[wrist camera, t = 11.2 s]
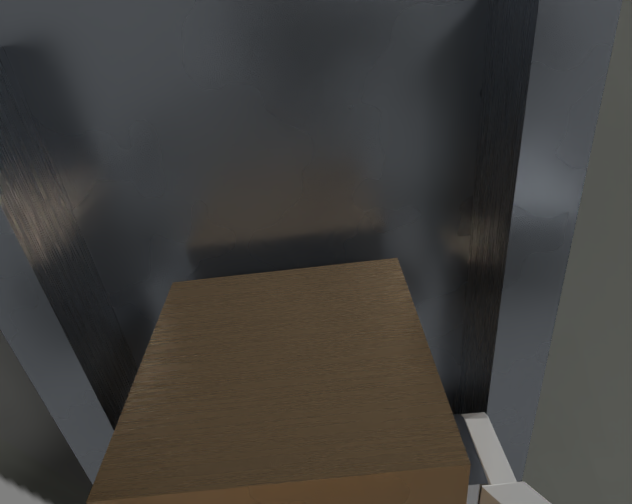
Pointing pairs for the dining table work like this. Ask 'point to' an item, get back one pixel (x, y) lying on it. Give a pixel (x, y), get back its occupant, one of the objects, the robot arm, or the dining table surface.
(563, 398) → the dining table surface
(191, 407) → the cardboard shipping carton
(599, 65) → the tray
